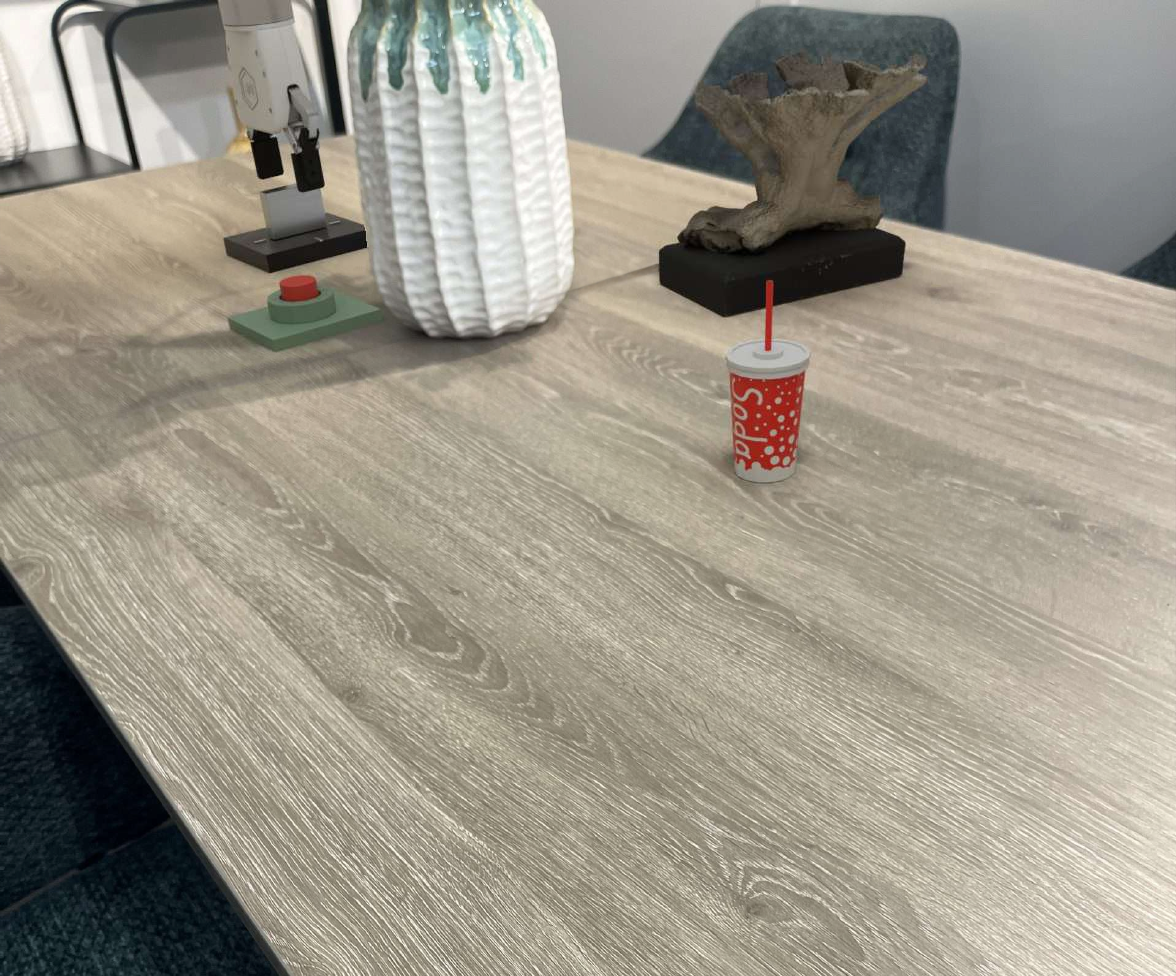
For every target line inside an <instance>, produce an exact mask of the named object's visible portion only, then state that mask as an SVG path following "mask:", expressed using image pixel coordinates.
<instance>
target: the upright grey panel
mask: <svg viewBox="0 0 1176 976" xmlns="http://www.w3.org/2000/svg"><path fill="white" fill-rule="evenodd" d="M258 192H259V193H258V194H259V199H260V204H261V209H262V213H263V219H264V224H265V228H266V229H267V234H268V238H271V239H273V240H277V239H281V238H285V237H289V236H293V235H297V234H301V233H305V232H309V231H313V230H317V229H321V228H325V227H327V223H326V217H325V213H326V212H325V206H324V201H323V194H322V188H320V189H316V190H312V191H308V192H304V193H302V192H299V191H298V189H297V184H296V182H295V183H291V184H287V185H282V186H278V187H274V188H269V189H265V190H261V191H258Z"/></svg>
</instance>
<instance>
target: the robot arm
mask: <svg viewBox="0 0 1176 976" xmlns="http://www.w3.org/2000/svg"><path fill="white" fill-rule="evenodd" d="M217 2H218V6H219V12H220V16H221V21H222V24H223V25H222V26H223V30H224V32H225V44H226V54H227V63H228V68H229V74H230V76H229V77H230V81H231V87H232V92H233V97H234V104H235V108H236V113H237V117H238V118H237V119H238V120H239V122H240V123H241V124H242V125H243V126H245V127H246V137H247V139H248V141H249V143H250V148H251V153H252V157H253V162H254V167H255V171H256V177H257V178H258V179H259V180H268V179H273V178H276V177H279V176H283V175H284V173H285V170H284V165H283V160H282V155H281V151H280V145H279V141H278V136H274V135H279V134H281V132H282V131H283V133H284V135H285V137H286V139H287V141H288V143H289V145H290V147H291V149H292V151H293V153H290V158H291V164H292V169H293V173H294V174H293V175H294V179H295V183H296V184H297V189H298V191H299V192H302V193H304V192H308V191H312V190H316V189H323V188H324V187H325V186H326V185H325V183H326V182H325V177H324V173H323V166H322V161H321V155H320V149H321V145H320V141H319V138H320V132H321V131H320V130H319V117H320V115H319V111H318V109H317V108H316V107H315V106H314V104H313V103H312V101H311V100H312V99H311V94H310V89H309V84H308V80H307V75H306V72H305V67H304V63H303V59H302V55H301V51H300V47H299V44H298V43H299V42H298V40H297V36H296V33H295V30H294V26H293V24H295V23H296V20H295V15H294V10H293V4H292V0H217ZM298 132H299V134H298V136H297V134H296V133H298Z"/></svg>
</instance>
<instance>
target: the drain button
mask: <svg viewBox="0 0 1176 976" xmlns="http://www.w3.org/2000/svg"><path fill="white" fill-rule="evenodd" d="M278 285H279V290H281V295H282V300H283V301H288V302H297V301H306V300H310V299H313V298H316V297H318V296H319V294H318V288H317V285H318V283H317V279H316V277H315V276H313V275H306V274H303V275H301V274H299V275H294V276H289V277H285V278H283V279H281V280H280V281H279V283H278Z"/></svg>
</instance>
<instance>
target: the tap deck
mask: <svg viewBox="0 0 1176 976" xmlns="http://www.w3.org/2000/svg"><path fill="white" fill-rule="evenodd" d="M325 217H326V223H327V227H325V228H321V229H317V230H313V231H309V232H305V233H301V234H297V235H293V236H289V237H285V238H281V239H277V240H273V239H271V238H268V234H267V229H266V227H262V228H258V229H254V230H249V231H246V232H242V233H238V234H233V235H229V236H225V237H223V238H222V239H223V243H224V248H225V253H226V256H227V257H229V258H232V259H235V260H237V261H239V262H241V263H244V264H246V265H249V266H251V267H253V268H256V269H259V270H260V271H263V272H265V273H268V274H273V273H277V272H281V271H285V270H289V269H293V268H296V267H300V266H304V265H308V264H312V263H315V262H319V261H323V260H327V259H330V258H334V257H339V256H342V255H346V254H349V253H353V252H358V251H361V250H365V249H368V248H367V241H366V231H365V227H364V225H365V224H363V223H360V222H357V221H354V220H351V219H348V218H345V217H341V216H338V215H336V214H332V213H330V212H325Z"/></svg>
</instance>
